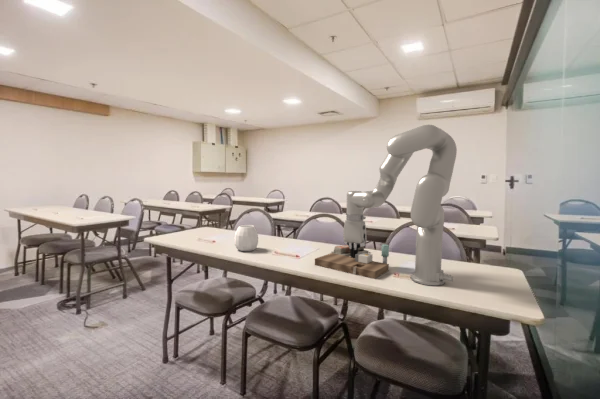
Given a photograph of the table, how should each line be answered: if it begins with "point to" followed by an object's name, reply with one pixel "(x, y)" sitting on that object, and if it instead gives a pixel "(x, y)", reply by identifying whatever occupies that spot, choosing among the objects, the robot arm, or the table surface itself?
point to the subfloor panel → (352, 265)
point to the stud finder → (363, 257)
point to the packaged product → (346, 250)
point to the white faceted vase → (246, 238)
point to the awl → (385, 252)
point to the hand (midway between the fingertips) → (353, 257)
